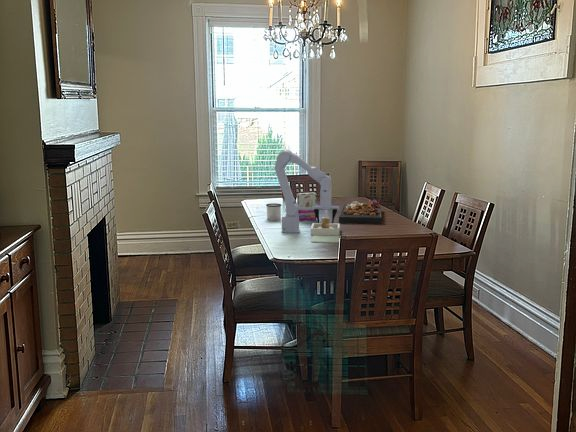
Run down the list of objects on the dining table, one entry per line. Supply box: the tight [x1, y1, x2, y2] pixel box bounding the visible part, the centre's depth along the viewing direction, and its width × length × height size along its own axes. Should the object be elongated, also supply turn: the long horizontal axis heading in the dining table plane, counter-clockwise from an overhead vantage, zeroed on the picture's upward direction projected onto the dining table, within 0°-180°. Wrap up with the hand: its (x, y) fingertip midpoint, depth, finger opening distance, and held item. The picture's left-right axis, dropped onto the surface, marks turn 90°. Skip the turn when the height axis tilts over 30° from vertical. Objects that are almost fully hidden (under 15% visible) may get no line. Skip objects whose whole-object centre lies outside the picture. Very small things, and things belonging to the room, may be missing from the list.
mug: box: [265, 202, 283, 221], centre depth 351 cm, size 12×10×9 cm
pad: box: [310, 235, 341, 244], centre depth 293 cm, size 14×14×1 cm
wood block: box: [321, 216, 330, 228], centre depth 310 cm, size 4×4×6 cm
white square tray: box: [310, 222, 341, 236], centre depth 311 cm, size 15×15×4 cm
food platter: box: [338, 198, 382, 225], centre depth 356 cm, size 45×25×10 cm, turn 171°
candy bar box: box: [296, 192, 317, 222], centre depth 346 cm, size 11×5×16 cm, turn 101°
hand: (325, 223), depth 310 cm, fingers open, 7 cm apart
